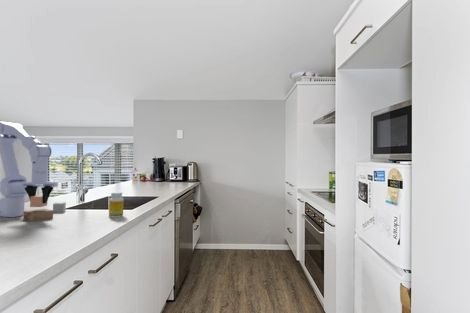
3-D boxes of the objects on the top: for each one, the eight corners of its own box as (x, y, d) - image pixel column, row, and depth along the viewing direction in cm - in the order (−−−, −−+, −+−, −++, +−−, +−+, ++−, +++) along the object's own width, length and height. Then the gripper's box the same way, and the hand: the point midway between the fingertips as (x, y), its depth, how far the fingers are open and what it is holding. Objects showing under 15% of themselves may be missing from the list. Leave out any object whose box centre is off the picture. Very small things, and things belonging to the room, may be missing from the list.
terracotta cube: (30, 206, 122) (30, 196, 122) (36, 205, 127) (36, 195, 127) (40, 207, 122) (41, 196, 122) (47, 205, 127) (47, 195, 127)
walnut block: (23, 220, 123) (23, 211, 123) (42, 217, 130) (43, 208, 130) (33, 222, 119) (33, 213, 119) (52, 219, 126) (53, 210, 126)
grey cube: (52, 212, 139) (53, 203, 139) (55, 211, 143) (55, 202, 144) (63, 212, 141) (63, 203, 141) (65, 210, 145) (65, 202, 145)
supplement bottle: (107, 216, 134) (107, 192, 135) (120, 214, 138) (121, 191, 139) (110, 218, 130) (111, 193, 130) (125, 216, 134) (125, 193, 134)
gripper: (16, 172, 120) (15, 204, 120) (51, 172, 121) (50, 204, 121) (27, 171, 127) (26, 201, 127) (60, 172, 128) (59, 202, 128)
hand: (38, 202), depth 125 cm, fingers closed on terracotta cube, 4 cm apart
